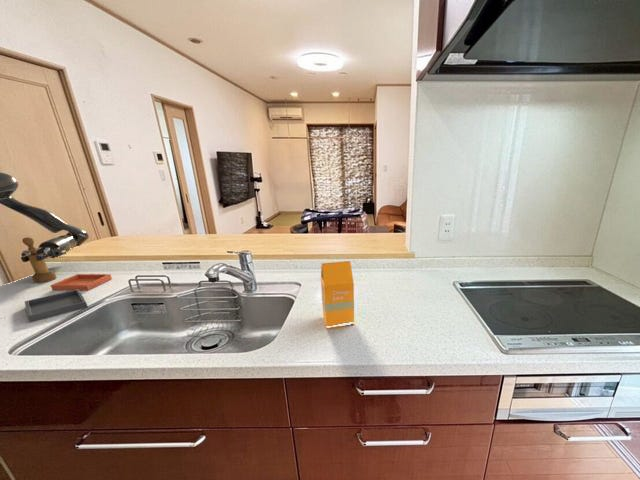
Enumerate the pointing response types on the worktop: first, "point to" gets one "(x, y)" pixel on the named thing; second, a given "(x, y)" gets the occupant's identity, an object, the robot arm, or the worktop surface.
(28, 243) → the mortar and pestle
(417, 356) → the worktop surface
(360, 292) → the worktop surface
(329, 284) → the orange juice
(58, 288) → the terracotta tray
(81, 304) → the grey tray
